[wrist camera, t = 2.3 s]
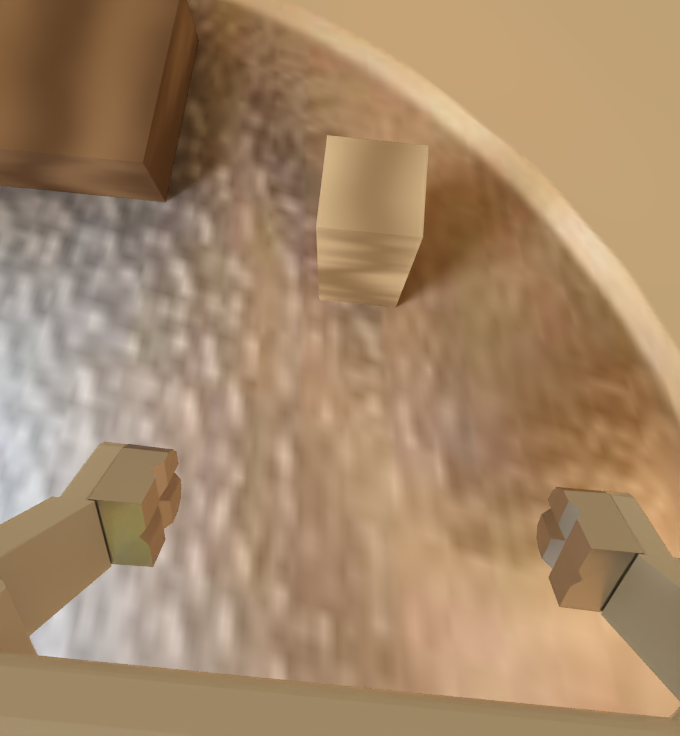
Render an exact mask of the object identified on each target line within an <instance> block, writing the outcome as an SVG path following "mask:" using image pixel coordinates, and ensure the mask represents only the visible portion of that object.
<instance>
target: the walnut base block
mask: <svg viewBox="0 0 680 736" xmlns="http://www.w3.org/2000/svg"><path fill="white" fill-rule="evenodd" d="M198 41H199V40H198V37H197V33H196V30H195V26H194V23H193V19H192V16H191V12H190V9H189V6H188V2H187V0H0V185H1V186H11V187H21V188H31V189H41V190H51V191H61V192H71V193H81V194H91V195H101V196H111V197H121V198H131V199H140V200H150V201H160V202H166V197H167V192H168V187H169V182H170V177H171V173H172V168H173V163H174V158H175V153H176V148H177V143H178V138H179V134H180V129H181V124H182V119H183V114H184V109H185V104H186V100H187V95H188V90H189V85H190V80H191V75H192V70H193V66H194V61H195V56H196V51H197V46H198Z"/></svg>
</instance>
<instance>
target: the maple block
mask: <svg viewBox="0 0 680 736" xmlns="http://www.w3.org/2000/svg"><path fill="white" fill-rule="evenodd" d="M428 147H429V146H427V145H417V144H407V143H398V142H388V141H378V140H368V139H358V138H348V137H339V136H329V135H327V142H326V150H325V158H324V166H323V175H322V183H321V191H320V200H319V208H318V216H317V225H316V233H317V257H318V282H319V300H328V301H338V302H348V303H358V304H368V305H378V306H388V307H396V305H397V303H398V300H399V297H400V295H401V292H402V290H403V287H404V285H405V282H406V280H407V277H408V274H409V272H410V269H411V267H412V264H413V262H414V259H415V257H416V254H417V251H418V249H419V246H420V244H421V241H422V239H423V228H424V212H425V196H426V179H427V163H428Z"/></svg>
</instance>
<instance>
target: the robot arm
mask: <svg viewBox="0 0 680 736" xmlns="http://www.w3.org/2000/svg"><path fill="white" fill-rule="evenodd" d="M177 466H178V458H177V452H176V451H174V450H173V449H165V448H156V447H148V446H140V445H132V444H119V443H111V442H103V443H102V444H100V445H98V446H97V448H96V449H95V450H94V452H93V453H92V454H91V456H90V457H89V458H88V460H87V461H86V462H85V464H84V465H83V466H82V468H81V469H80V470H79V472H78V473H77V474H76V476H75V477H74V478H73V480H72V481H71V483H70V484H69V485H68V487H67V488H66V489H65V491H64V492H63V493H62V495H61V496H60V497H51V498H49V499H47V500H45V501H43V502H41V503H40V504H38V505H36V506H34V507H32V508H30V509H28V510H27V511H25V512H23V513H21V514H19V515H17V516H15V517H14V518H12V519H10V520H8V521H6V522H4V523H2V524H1V525H0V736H680V707H679V708H678V709H677V710H676V711H675V712H674V713H673V714H672V715H671V717H670V718H666V717H656V716H646V715H636V714H626V713H616V712H606V711H595V710H585V709H575V708H565V707H555V706H545V705H534V704H524V703H514V702H504V701H494V700H484V699H474V698H463V697H453V696H443V695H433V694H423V693H413V692H403V691H392V690H382V689H372V688H362V687H351V686H341V685H331V684H321V683H310V682H300V681H290V680H280V679H269V678H259V677H249V676H239V675H229V674H219V673H209V672H199V671H189V670H178V669H168V668H158V667H148V666H138V665H128V664H118V663H108V662H98V661H87V660H77V659H67V658H57V657H47V656H38V654H37V652H36V650H35V648H34V646H33V644H32V642H31V640H30V637H29V636H30V635H31V634H32V633H33V632H34V631H35V630H37V629H38V628H39V627H40V626H41V625H43V624H44V623H45V622H46V621H47V620H48V619H50V618H51V617H52V616H53V615H54V614H56V613H57V612H58V611H59V610H60V609H61V608H63V607H64V606H65V605H66V604H67V603H69V602H70V601H71V600H72V599H73V598H74V597H76V596H77V595H78V594H79V593H80V592H82V591H83V590H84V589H85V588H86V587H87V586H89V585H90V584H91V583H92V582H93V581H95V580H96V579H97V578H98V577H99V576H100V575H102V574H103V573H104V572H105V571H106V570H108V569H109V568H110V567H111V564H120V565H135V566H149V567H153V566H154V564H155V562H156V559H157V557H158V555H159V553H160V550H161V548H162V546H163V544H164V542H165V534H164V528H166V527H167V526H168V525H170V524H171V523H173V521H174V519H175V516H176V514H177V512H178V508H179V503H180V499H181V480H180V478H179V477H178V476H177V475H176V474H175V473H174V472H175V470H176V468H177ZM548 501H549V503H550V506H551V509H549V510H548V511H546V512H544V513H543V514H542V515H541V517H540V520H539V523H538V525H537V543H538V549H539V552H540V555H541V558H542V559H543V560H544V561H545V562H546V563H547V564H548V565H549V566H550V567H551V568H552V571H551V573H550V575H549V580H550V582H551V585H552V588H553V591H554V593H555V596H556V599H557V601H558V604H559V607H565V608H573V609H581V610H589V611H596V612H602V613H601V615H602V616H603V617H604V618H605V619H606V620H607V621H608V623H609V624H610V625H611V626H612V627H613V628H614V629H615V630H616V631H617V632H618V634H619V635H620V636H621V637H622V638H623V639H624V640H625V641H626V642H627V644H628V645H629V646H630V647H631V648H632V649H633V650H634V651H635V652H636V654H637V655H638V656H639V657H640V658H641V659H642V660H643V661H644V662H645V663H646V665H647V666H648V667H649V668H650V669H651V670H652V671H653V672H654V673H655V675H656V676H657V677H658V678H659V679H660V680H661V681H662V682H663V683H664V684H665V686H666V687H667V688H668V689H669V690H670V691H671V692H672V693H673V694H674V696H675V697H676V698H677V699H678V700H679V701H680V558H673V557H672V555H671V553H670V552H669V550H668V549H667V547H666V546H665V544H664V543H663V541H662V539H661V538H660V536H659V535H658V533H657V532H656V530H655V529H654V527H653V525H652V524H651V522H650V521H649V519H648V518H647V516H646V515H645V513H644V511H643V510H642V508H641V507H640V505H639V504H638V502H637V501H636V499H635V498H634V497H633V496H632V495H630V494H629V493H622V492H610V491H603V492H602V491H596V490H584V489H573V488H562V487H556V488H555V489H554V490H553V491H552V492H551V494H550V496H549V499H548Z"/></svg>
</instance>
